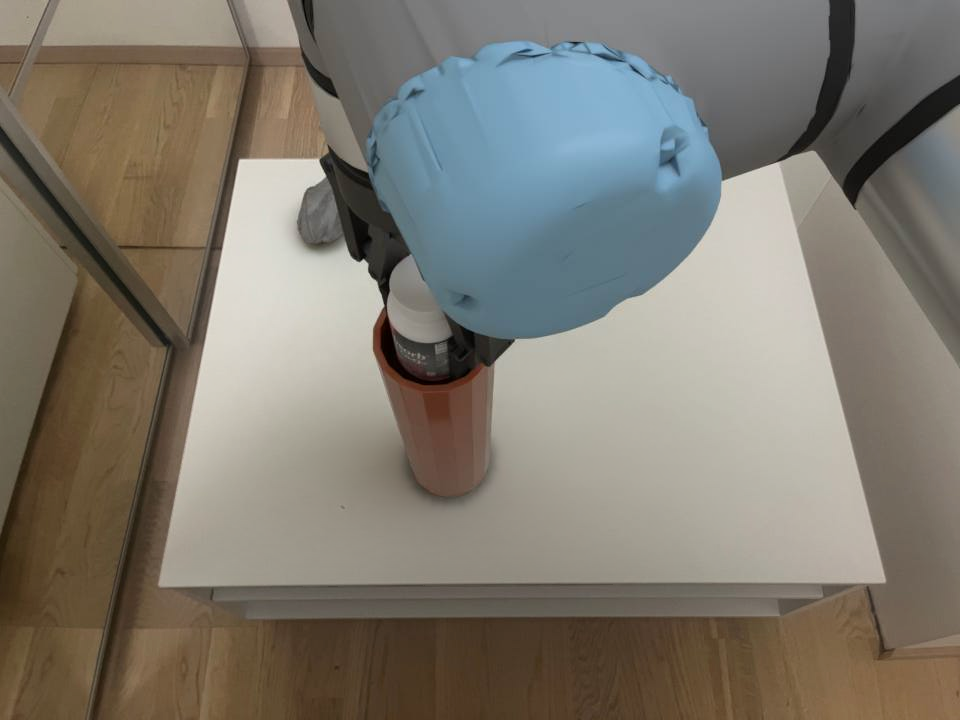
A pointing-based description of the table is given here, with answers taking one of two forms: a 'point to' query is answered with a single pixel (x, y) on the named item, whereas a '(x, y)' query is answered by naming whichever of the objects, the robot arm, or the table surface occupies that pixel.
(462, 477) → the tall brown vase
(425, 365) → the pill bottle
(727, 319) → the table surface
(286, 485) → the table surface
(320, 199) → the grey rock
